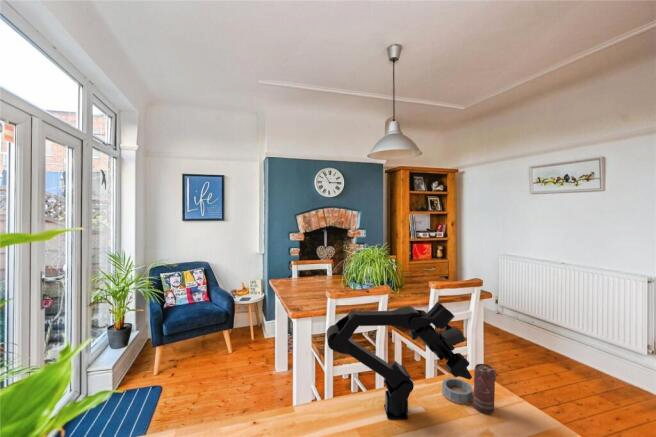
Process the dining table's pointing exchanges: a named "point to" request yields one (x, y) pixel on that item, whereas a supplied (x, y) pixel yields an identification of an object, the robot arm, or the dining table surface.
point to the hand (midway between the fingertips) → (463, 370)
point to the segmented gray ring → (457, 391)
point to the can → (484, 388)
